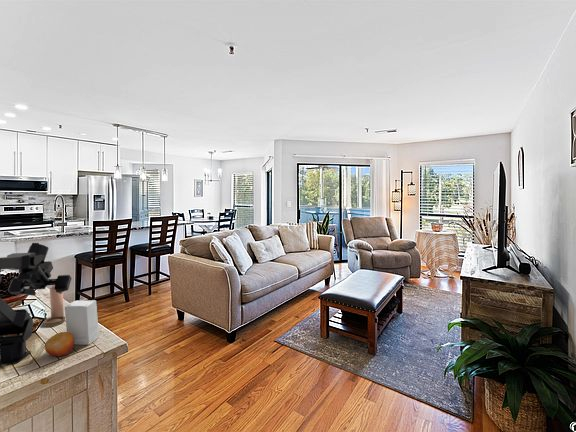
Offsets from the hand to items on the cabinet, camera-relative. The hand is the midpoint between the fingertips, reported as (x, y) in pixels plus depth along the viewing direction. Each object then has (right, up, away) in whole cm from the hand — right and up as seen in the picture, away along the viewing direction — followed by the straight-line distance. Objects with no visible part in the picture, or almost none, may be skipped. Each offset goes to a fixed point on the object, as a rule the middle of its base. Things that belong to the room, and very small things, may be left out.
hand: (48, 293), depth 121 cm
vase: (-3, -12, +8) cm, 15 cm away
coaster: (+1, -13, +2) cm, 13 cm away
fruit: (+20, -16, -20) cm, 33 cm away
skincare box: (+22, -15, -12) cm, 29 cm away
